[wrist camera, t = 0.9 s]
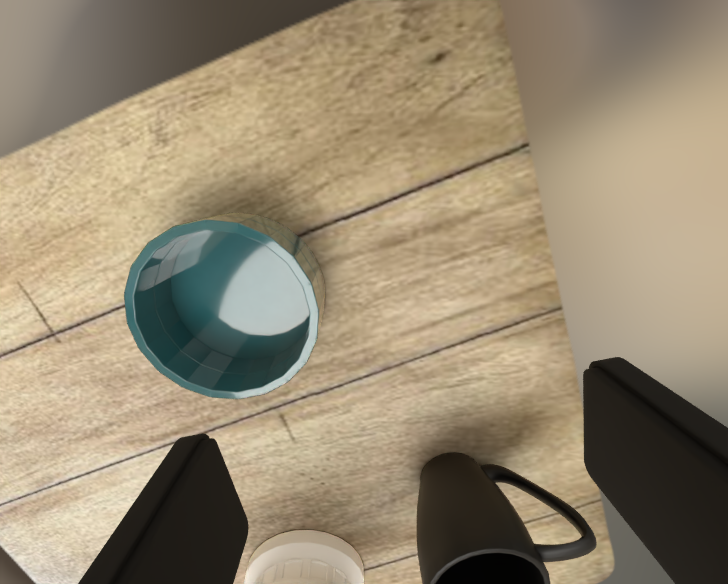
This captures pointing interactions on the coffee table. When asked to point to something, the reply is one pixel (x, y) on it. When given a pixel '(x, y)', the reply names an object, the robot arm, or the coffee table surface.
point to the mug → (484, 526)
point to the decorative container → (305, 560)
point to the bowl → (226, 304)
